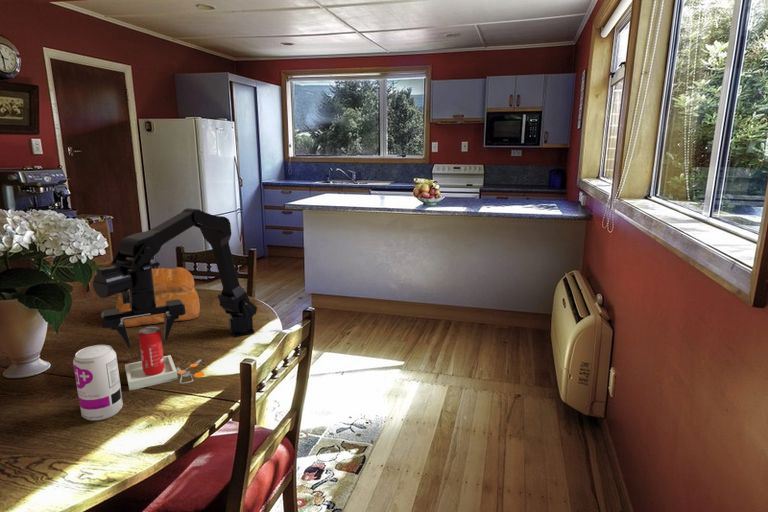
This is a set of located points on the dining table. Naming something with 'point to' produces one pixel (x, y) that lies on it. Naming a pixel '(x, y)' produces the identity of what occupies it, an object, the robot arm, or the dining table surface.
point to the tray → (141, 380)
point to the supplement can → (98, 382)
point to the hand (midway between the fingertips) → (147, 343)
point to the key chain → (189, 372)
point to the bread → (167, 296)
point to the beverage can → (151, 350)
